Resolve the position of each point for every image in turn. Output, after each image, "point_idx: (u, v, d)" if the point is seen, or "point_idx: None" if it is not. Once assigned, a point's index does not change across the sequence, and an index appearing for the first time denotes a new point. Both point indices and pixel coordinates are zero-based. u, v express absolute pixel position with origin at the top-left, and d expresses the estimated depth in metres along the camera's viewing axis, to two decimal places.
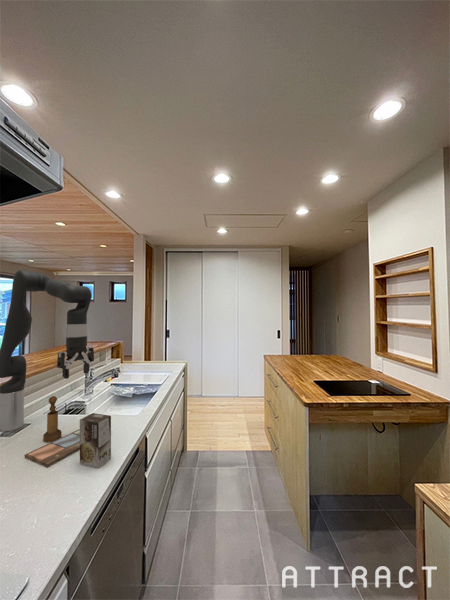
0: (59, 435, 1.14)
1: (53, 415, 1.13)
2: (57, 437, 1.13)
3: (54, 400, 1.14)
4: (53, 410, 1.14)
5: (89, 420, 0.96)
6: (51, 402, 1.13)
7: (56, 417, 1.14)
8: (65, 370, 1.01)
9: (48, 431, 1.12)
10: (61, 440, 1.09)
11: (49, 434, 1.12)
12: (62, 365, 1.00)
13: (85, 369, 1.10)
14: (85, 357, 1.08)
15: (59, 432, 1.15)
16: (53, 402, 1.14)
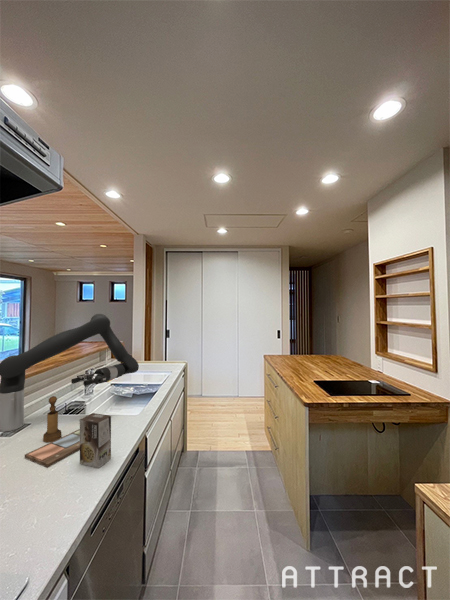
0: (59, 435, 1.14)
1: (53, 415, 1.13)
2: (57, 437, 1.13)
3: (54, 400, 1.14)
4: (53, 410, 1.14)
5: (89, 420, 0.96)
6: (51, 402, 1.13)
7: (56, 417, 1.14)
8: (91, 383, 1.26)
9: (48, 431, 1.12)
10: (61, 440, 1.09)
11: (49, 434, 1.12)
12: None
13: (75, 380, 1.28)
14: None
15: (59, 432, 1.15)
16: (53, 402, 1.14)
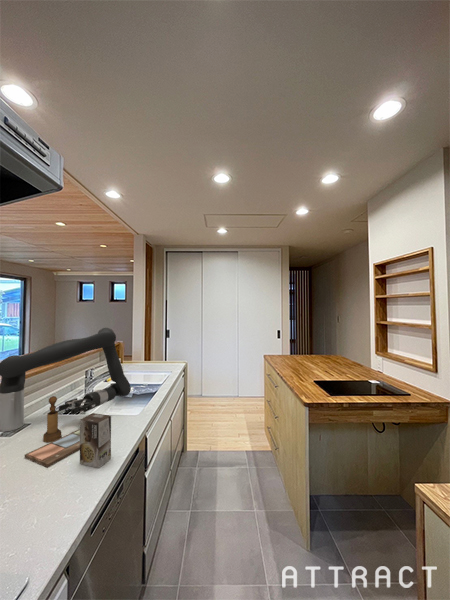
0: (59, 435, 1.14)
1: (53, 415, 1.13)
2: (57, 437, 1.13)
3: (54, 400, 1.14)
4: (53, 410, 1.14)
5: (89, 420, 0.96)
6: (51, 402, 1.13)
7: (56, 417, 1.14)
8: (79, 411, 1.20)
9: (48, 431, 1.12)
10: (61, 440, 1.09)
11: (49, 434, 1.12)
12: None
13: (63, 407, 1.23)
14: None
15: (59, 432, 1.15)
16: (53, 402, 1.14)
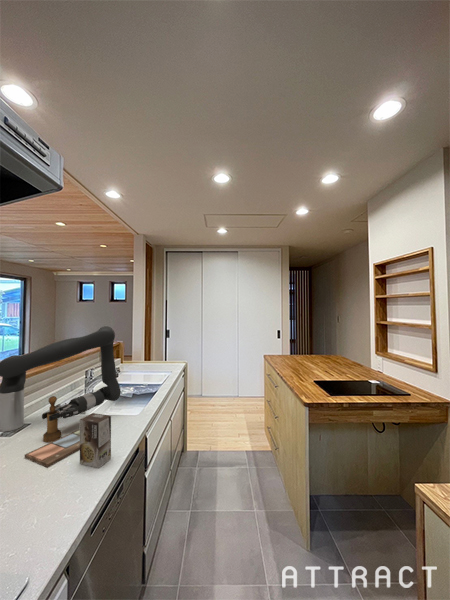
0: (59, 435, 1.14)
1: None
2: (57, 437, 1.13)
3: (54, 400, 1.14)
4: (53, 410, 1.14)
5: (89, 420, 0.96)
6: (51, 402, 1.13)
7: None
8: (58, 417, 1.13)
9: (48, 431, 1.12)
10: (61, 440, 1.09)
11: (49, 434, 1.12)
12: None
13: None
14: None
15: (59, 432, 1.15)
16: (53, 402, 1.14)
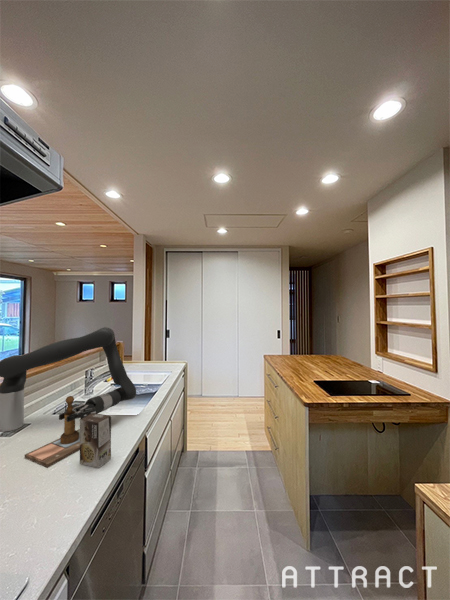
0: (77, 436, 1.10)
1: None
2: (75, 438, 1.09)
3: (71, 400, 1.09)
4: (70, 410, 1.09)
5: (89, 420, 0.96)
6: (68, 402, 1.09)
7: None
8: (75, 418, 1.09)
9: (65, 432, 1.08)
10: None
11: (67, 435, 1.07)
12: None
13: None
14: None
15: (77, 433, 1.10)
16: (70, 402, 1.09)
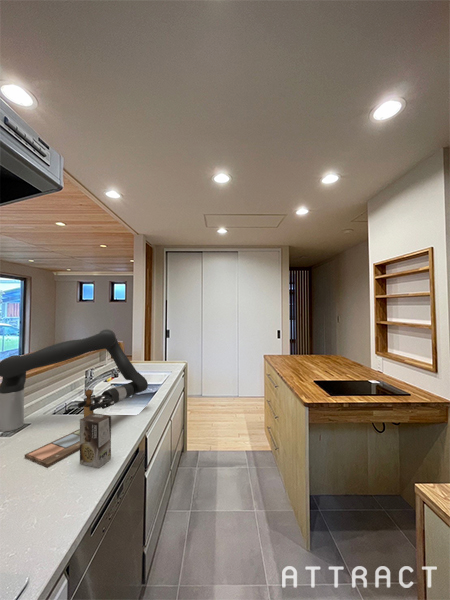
0: None
1: None
2: None
3: (90, 393, 1.18)
4: (89, 403, 1.18)
5: (89, 420, 0.96)
6: (87, 395, 1.17)
7: None
8: (97, 407, 1.17)
9: None
10: (61, 440, 1.09)
11: None
12: None
13: (82, 404, 1.19)
14: None
15: None
16: (89, 395, 1.18)
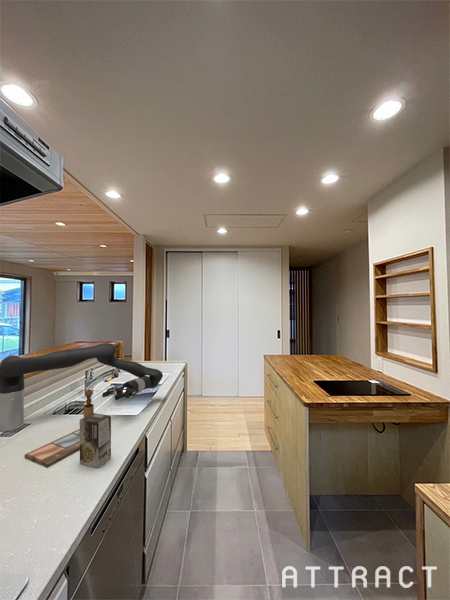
0: None
1: (90, 408, 1.17)
2: None
3: (90, 393, 1.17)
4: (89, 403, 1.17)
5: (89, 420, 0.96)
6: (87, 395, 1.17)
7: (92, 410, 1.18)
8: (122, 397, 1.28)
9: None
10: (61, 440, 1.09)
11: None
12: None
13: (106, 394, 1.31)
14: (116, 394, 1.35)
15: None
16: (89, 395, 1.17)
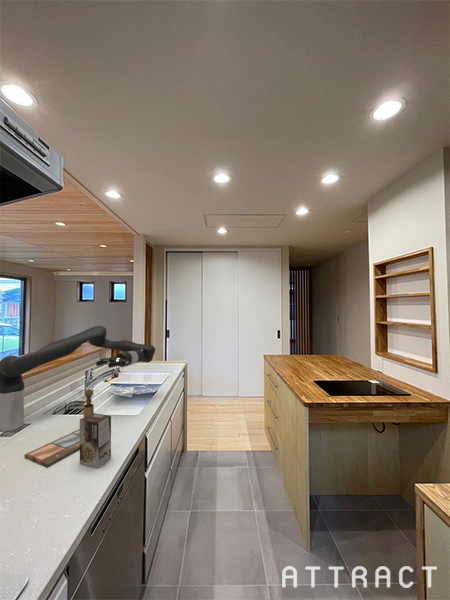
0: None
1: (90, 408, 1.17)
2: None
3: (90, 393, 1.17)
4: (89, 403, 1.18)
5: (89, 420, 0.96)
6: (87, 395, 1.17)
7: (92, 410, 1.18)
8: (115, 365, 1.32)
9: None
10: (61, 440, 1.09)
11: None
12: None
13: (100, 363, 1.34)
14: None
15: None
16: (89, 395, 1.17)
